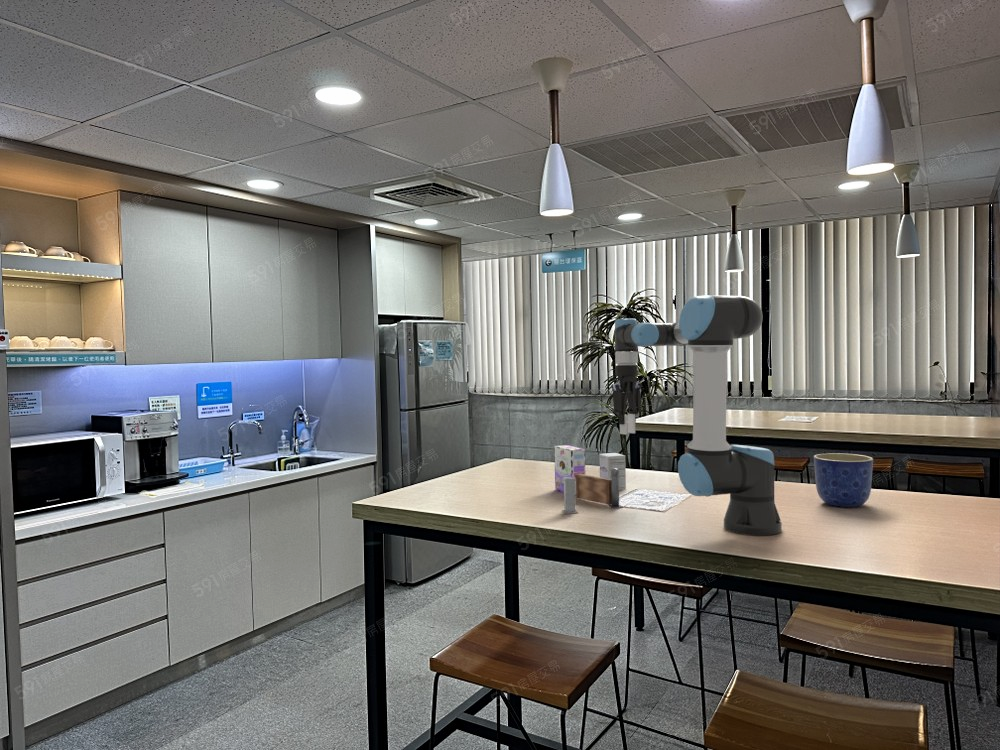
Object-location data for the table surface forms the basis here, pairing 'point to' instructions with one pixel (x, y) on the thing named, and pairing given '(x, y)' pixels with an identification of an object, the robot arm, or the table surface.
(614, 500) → the hinge post
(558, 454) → the candy box
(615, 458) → the supplement box
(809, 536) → the table surface
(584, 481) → the gate
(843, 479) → the planter
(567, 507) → the stile
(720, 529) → the table surface
